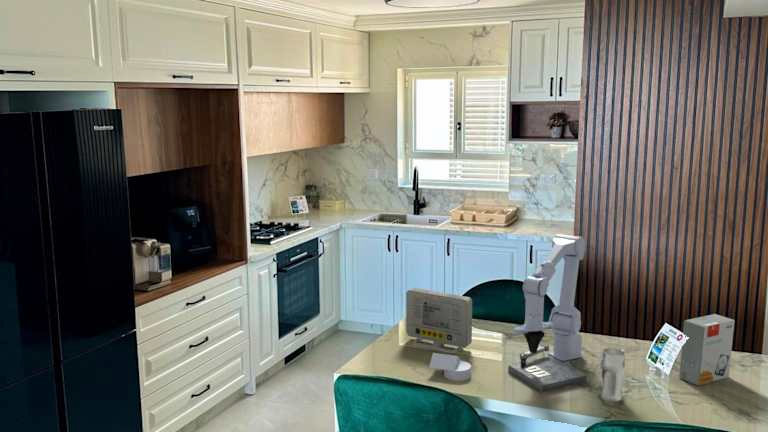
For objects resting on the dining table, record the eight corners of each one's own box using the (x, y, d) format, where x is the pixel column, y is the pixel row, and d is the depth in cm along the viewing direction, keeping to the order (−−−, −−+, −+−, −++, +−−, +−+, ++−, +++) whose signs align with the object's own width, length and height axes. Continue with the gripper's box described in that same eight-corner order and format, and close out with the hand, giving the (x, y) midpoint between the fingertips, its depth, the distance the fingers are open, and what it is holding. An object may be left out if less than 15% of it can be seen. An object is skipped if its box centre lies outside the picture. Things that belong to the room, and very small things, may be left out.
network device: (474, 348, 247) (475, 296, 244) (463, 355, 240) (464, 302, 236) (414, 335, 261) (414, 285, 257) (402, 342, 254) (402, 291, 250)
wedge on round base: (429, 376, 222) (467, 382, 218) (429, 357, 221) (467, 362, 217) (436, 366, 231) (473, 371, 226) (436, 348, 230) (473, 352, 225)
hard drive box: (698, 387, 213) (703, 327, 210) (678, 378, 220) (682, 320, 216) (730, 377, 220) (735, 319, 217) (709, 369, 227) (714, 312, 223)
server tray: (550, 362, 233) (551, 351, 232) (586, 382, 217) (587, 370, 216) (508, 372, 226) (508, 360, 225) (542, 392, 210) (542, 380, 209)
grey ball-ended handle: (524, 360, 224) (524, 355, 224) (518, 358, 226) (518, 353, 225) (548, 350, 233) (549, 345, 232) (543, 348, 234) (543, 343, 234)
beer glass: (595, 393, 209) (598, 347, 206) (617, 392, 210) (620, 346, 207) (605, 403, 202) (607, 356, 200) (627, 402, 203) (630, 355, 200)
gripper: (544, 306, 225) (543, 344, 227) (508, 312, 219) (507, 351, 221) (558, 312, 218) (556, 351, 221) (521, 318, 212) (520, 359, 215)
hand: (533, 352), depth 220 cm, fingers closed
